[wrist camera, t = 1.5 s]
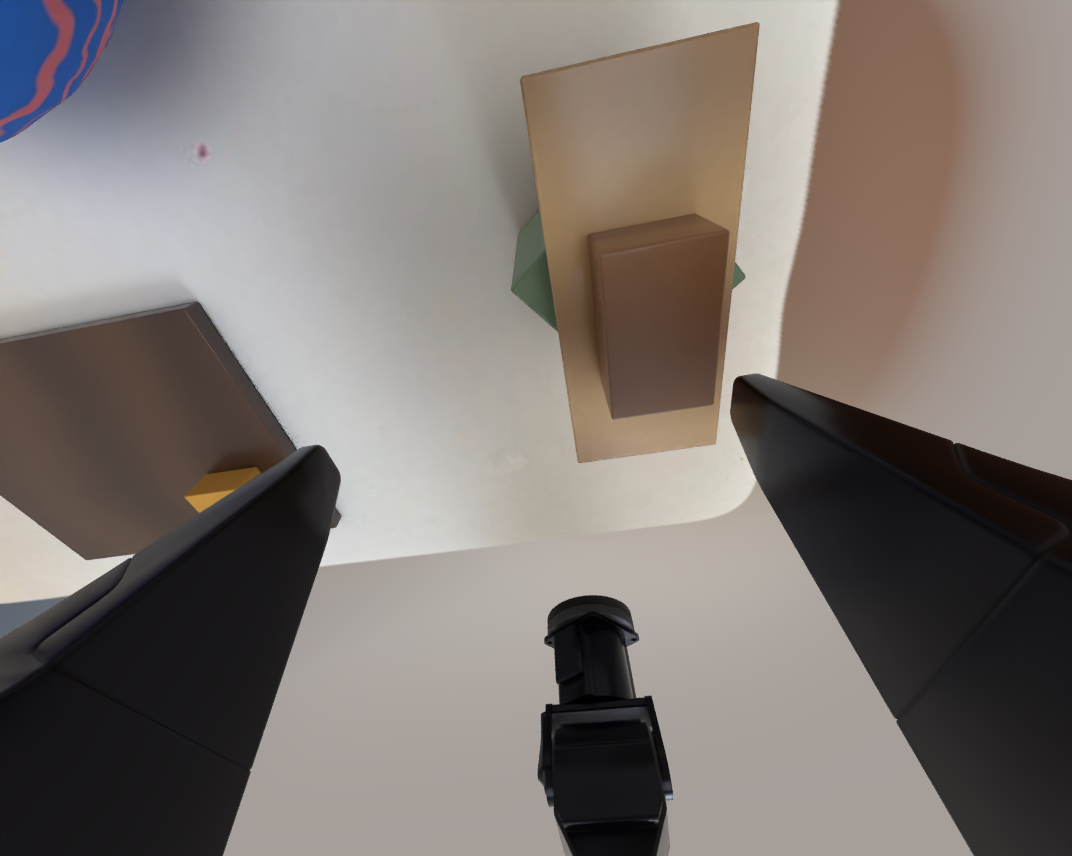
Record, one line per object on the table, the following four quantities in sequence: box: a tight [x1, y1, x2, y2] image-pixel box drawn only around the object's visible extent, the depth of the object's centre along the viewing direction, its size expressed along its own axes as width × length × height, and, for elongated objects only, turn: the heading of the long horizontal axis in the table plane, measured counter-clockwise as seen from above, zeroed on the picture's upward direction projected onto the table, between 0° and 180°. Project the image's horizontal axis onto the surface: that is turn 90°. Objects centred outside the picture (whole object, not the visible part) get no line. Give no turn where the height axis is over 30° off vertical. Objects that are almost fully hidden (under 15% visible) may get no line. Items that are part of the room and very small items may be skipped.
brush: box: [520, 22, 759, 463], centre depth 11 cm, size 10×4×4 cm, turn 10°
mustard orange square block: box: [185, 467, 261, 513], centre depth 26 cm, size 4×4×2 cm
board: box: [0, 302, 341, 560], centre depth 25 cm, size 20×16×1 cm
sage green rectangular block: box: [511, 209, 745, 332], centre depth 15 cm, size 5×5×8 cm
